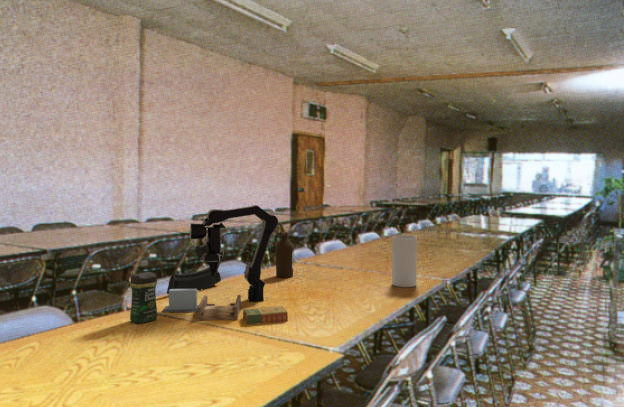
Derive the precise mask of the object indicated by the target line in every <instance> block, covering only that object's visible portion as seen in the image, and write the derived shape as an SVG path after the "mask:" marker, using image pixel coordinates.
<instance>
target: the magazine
mask: <svg viewBox="0 0 624 407" xmlns="http://www.w3.org/2000/svg"><path fill="white" fill-rule="evenodd" d="M221 281H222V276H221V273H220V272H219V270H218V271H217V272H216V273H215V276H212V275H211V271H210V267H209V266H207V267H206V268H204V269H201V270H198V271H193V272H187V273H174V272H173V273H171V275H170V277H169V282H168V285H167V289H166V294H167V295H169V290H170V289H197V290H199V291H202V290H201V289H203V290H205V288H206V289H207V288H210V287H216V284H218V283H220V282H221Z"/></svg>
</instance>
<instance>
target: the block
mask: <svg viewBox="0 0 624 407" xmlns="http://www.w3.org/2000/svg"><path fill="white" fill-rule="evenodd" d="M197 305H198V291H197V289H170V290H169V294H168V306H169V310H189V309H197Z"/></svg>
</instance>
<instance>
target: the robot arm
mask: <svg viewBox="0 0 624 407" xmlns="http://www.w3.org/2000/svg"><path fill="white" fill-rule="evenodd" d="M252 215H253V216H254V215H255V216H256V217H257V218H258V219H259V220H260V221H261V226H260V227H261V232H260V236H259V239H258V241H257V245H256V248H255V252H254V254H253V258H252V261H251V262H250V264H249V265H248V264H246V265H245V269H244V272H243V274H244V280H245V281H246V282H248V284H249V287H248V288H247V299H248V302H264V301H265V300H264V299H265V297H264V289H265V288H264V287H265V285H266V283H265V282H264V281H263V280H262V279H261V274H262V263H263V260H264V257H265V254H266V251H267V248H268V246H269V242H270V239H271V236H272V234H273V233H274V232H275V230H276V228H277V226H278V224H279V219H278V217H277V216H276V215H273V214H269V213H268V212H267V211H265V210H264V209H262V208H261V206H259V205H257V204H255V205H251V206H244V207H238V208H237V207H236V208H231V209H215V208H212V209H209V210H208V212H207V214H206V217H205V219H204V220H203V221H202V223H194V222H193V223H190V224H189V225H190V227H189V240H204V239H205V238H206V237H207V240H206V242H205V244H202V245H201V244H200V245H196V246H195V247H194V249H193V250H194V254H195V256H196V257H197V256H200V255H202V254H205V255H204V257H203V260H204V263H205V264H207V265H208V267H210V271H211V275H212V276H215V273H216V272H217V271H218V272H219V267H220V265H221V262H222V260H223V258H224V254H225V253H224V251H225V250H224V249H223V247H222V241H223V240H222V229H226V226H225V224H223V223H222V222H225V221H227V220H229V219H236V218H241V217H247V216H252Z"/></svg>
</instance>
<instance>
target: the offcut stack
mask: <svg viewBox="0 0 624 407" xmlns="http://www.w3.org/2000/svg"><path fill="white" fill-rule="evenodd" d="M213 315H234V306H230V305H215V306H206V307H205V309H204V314H203V316H213Z"/></svg>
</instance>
